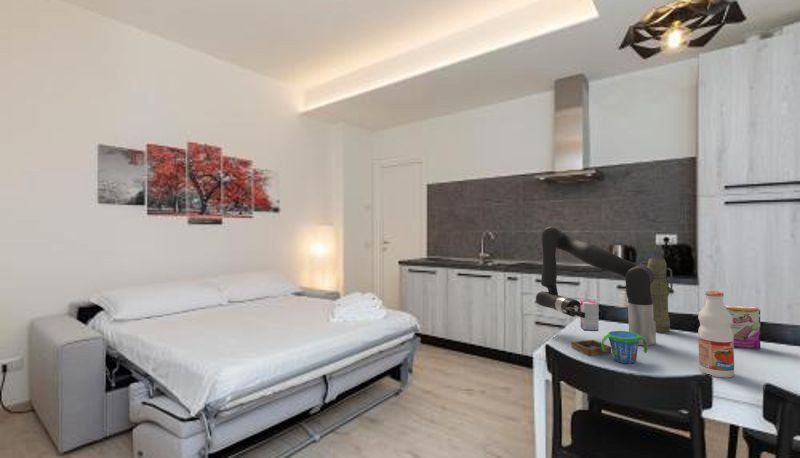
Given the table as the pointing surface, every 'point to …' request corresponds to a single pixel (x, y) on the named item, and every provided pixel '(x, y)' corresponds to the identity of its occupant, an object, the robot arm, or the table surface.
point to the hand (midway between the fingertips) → (592, 314)
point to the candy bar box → (745, 326)
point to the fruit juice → (716, 337)
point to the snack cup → (624, 345)
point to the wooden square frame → (590, 347)
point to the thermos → (660, 293)
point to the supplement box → (590, 316)
